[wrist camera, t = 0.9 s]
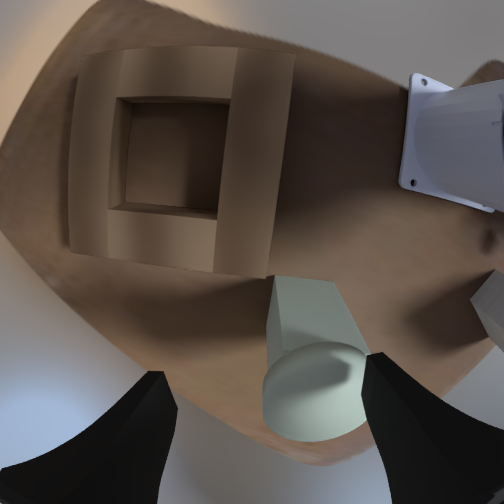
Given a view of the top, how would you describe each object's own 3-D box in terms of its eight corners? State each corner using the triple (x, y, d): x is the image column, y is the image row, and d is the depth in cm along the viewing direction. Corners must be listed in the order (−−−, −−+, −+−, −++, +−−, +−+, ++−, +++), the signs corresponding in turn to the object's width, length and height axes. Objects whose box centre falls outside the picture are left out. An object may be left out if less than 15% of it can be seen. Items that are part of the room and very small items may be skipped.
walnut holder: (290, 66, 15) (295, 54, 13) (264, 263, 19) (265, 278, 17) (100, 64, 15) (82, 55, 13) (88, 241, 19) (70, 252, 17)
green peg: (343, 274, 19) (398, 363, 10) (326, 338, 21) (357, 439, 12) (266, 265, 19) (273, 360, 10) (256, 332, 21) (255, 439, 12)
